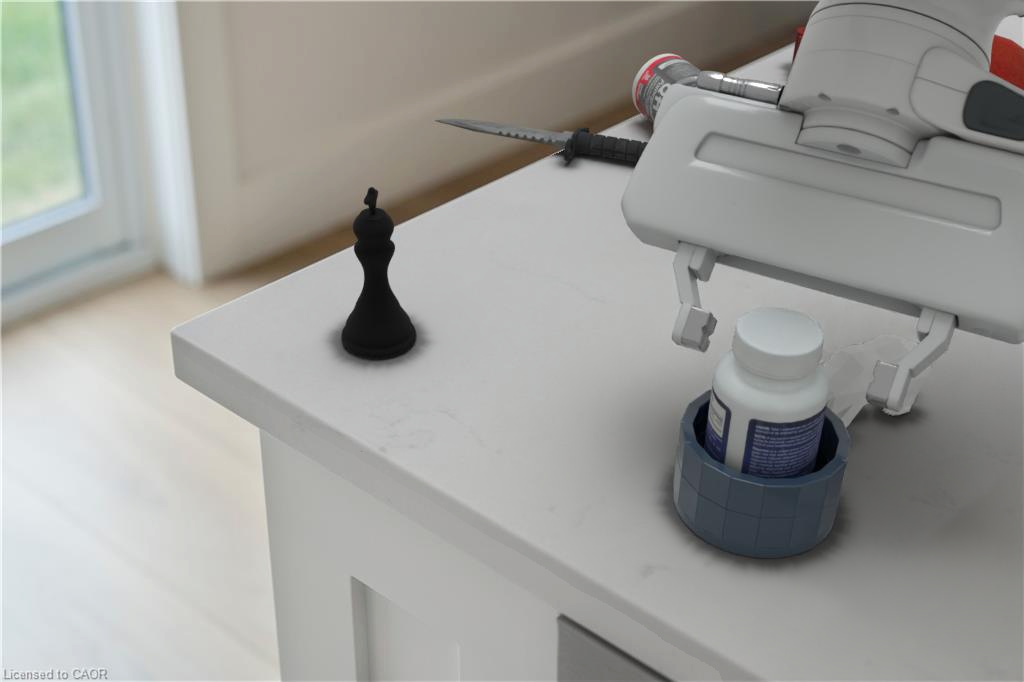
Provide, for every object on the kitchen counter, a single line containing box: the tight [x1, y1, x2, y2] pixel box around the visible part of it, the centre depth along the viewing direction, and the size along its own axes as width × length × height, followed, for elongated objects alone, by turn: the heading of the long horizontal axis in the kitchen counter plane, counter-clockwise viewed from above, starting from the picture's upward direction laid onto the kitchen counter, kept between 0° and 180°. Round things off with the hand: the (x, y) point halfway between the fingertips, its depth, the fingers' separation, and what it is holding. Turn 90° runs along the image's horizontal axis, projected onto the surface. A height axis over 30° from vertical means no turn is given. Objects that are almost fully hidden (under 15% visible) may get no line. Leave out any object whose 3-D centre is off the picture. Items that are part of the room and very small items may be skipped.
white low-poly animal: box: [822, 333, 932, 428], centre depth 67 cm, size 2×8×5 cm, turn 119°
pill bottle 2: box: [704, 307, 830, 479], centre depth 60 cm, size 5×5×10 cm
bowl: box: [672, 388, 852, 559], centre depth 61 cm, size 8×8×4 cm
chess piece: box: [340, 186, 417, 360], centre depth 71 cm, size 4×4×10 cm
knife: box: [434, 118, 649, 163], centre depth 95 cm, size 19×2×5 cm
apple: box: [989, 33, 1024, 90], centre depth 98 cm, size 8×8×8 cm
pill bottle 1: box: [631, 53, 701, 124], centre depth 96 cm, size 5×5×10 cm
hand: (781, 375), depth 58 cm, fingers open, 8 cm apart
